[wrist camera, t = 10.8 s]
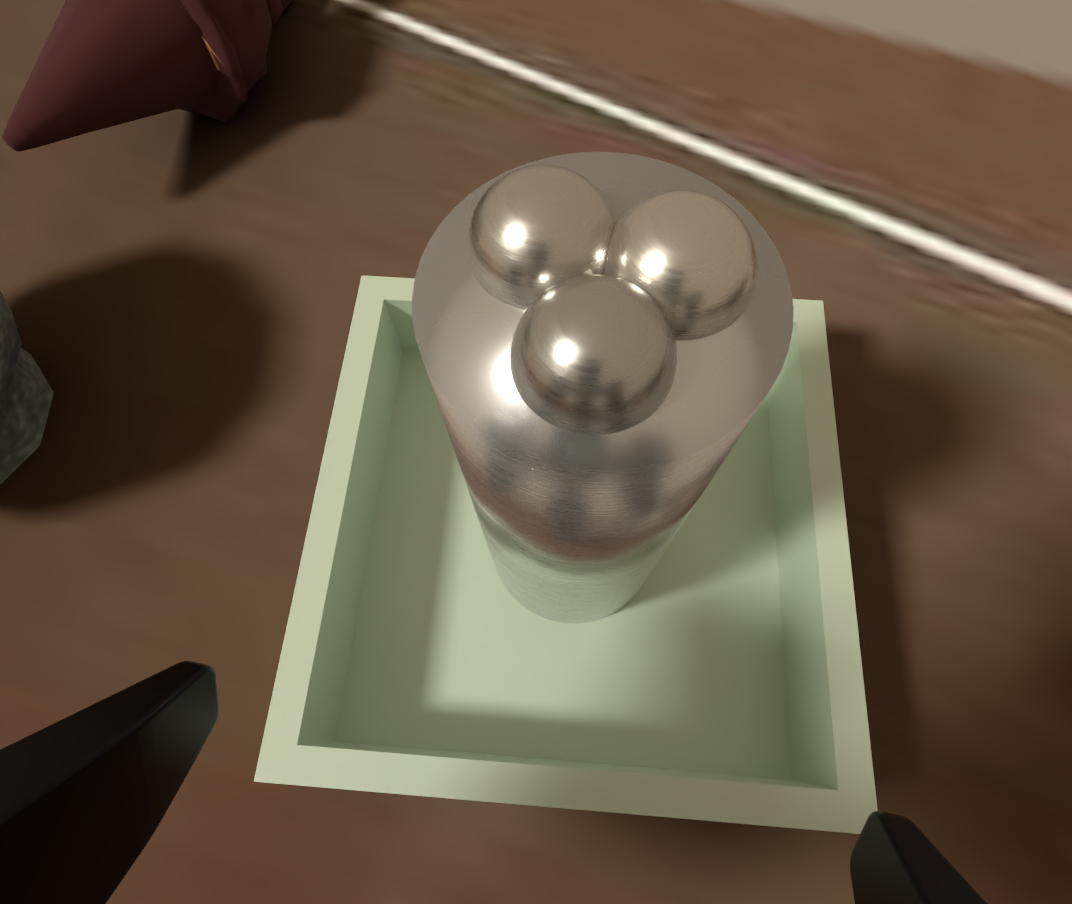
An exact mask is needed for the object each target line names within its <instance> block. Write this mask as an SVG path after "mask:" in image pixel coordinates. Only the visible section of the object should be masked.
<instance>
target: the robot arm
mask: <svg viewBox="0 0 1072 904" xmlns="http://www.w3.org/2000/svg"><path fill="white" fill-rule="evenodd" d="M217 716H218V698H217V685H216V674H215V671H214V669H213V668H212V667H211V666H209V665H205V664H200V663H196V662H191V661H183V662H180V663H177V664H175V665H173V666H171V667H169V668H167V669H165V670H163V671H161V672H159V673H157V674H155V675H153V676H151V677H149V678H147V679H145V680H142V681H140V682H138V683H136V684H134V685H132V686H130V687H128V688H126V689H124V690H122V691H120V692H118V693H116V694H114V695H112V696H110V697H108V698H106V699H103V700H101V701H99V702H97V703H95V704H93V705H91V706H89V707H87V708H85V709H83V710H81V711H79V712H77V713H75V714H73V715H71V716H69V717H67V718H64V719H62V720H60V721H58V722H56V723H54V724H52V725H50V726H48V727H46V728H44V729H42V730H40V731H38V732H36V733H34V734H32V735H30V736H28V737H25V738H23V739H21V740H19V741H17V742H15V743H13V744H11V745H9V746H7V747H5V748H3V749H1V750H0V904H106V902H107V901H108V900H109V898H110V897H111V895H112V894H113V892H114V891H115V889H116V888H117V886H118V885H119V884H120V882H121V881H122V879H123V878H124V876H125V875H126V873H127V872H128V871H129V869H130V868H131V866H132V865H133V863H134V862H135V860H136V859H137V858H138V856H139V855H140V853H141V852H142V850H143V849H144V847H145V846H146V844H147V843H148V841H149V840H150V838H151V837H152V835H153V833H154V832H155V830H156V828H157V827H158V825H159V823H160V822H161V820H162V818H163V817H164V815H165V813H166V811H167V810H168V808H169V806H170V804H171V802H172V801H173V799H174V797H175V795H176V794H177V792H178V790H179V788H180V786H181V785H182V783H183V781H184V779H185V777H186V776H187V774H188V772H189V770H190V769H191V767H192V765H193V763H194V761H195V760H196V758H197V756H198V754H199V753H200V751H201V749H202V747H203V745H204V744H205V742H206V740H207V738H208V737H209V735H210V733H211V731H212V729H213V727H214V725H215V723H216V720H217ZM850 872H851V879H852V886H853V893H854V899H855V904H987V903H986V902H985V901H984V900H983V899H982V898H981V897H980V896H979V894H978V893H977V892H976V891H975V890H974V889H973V888H972V887H971V886H970V885H969V883H968V882H967V881H966V880H965V879H964V878H963V877H962V876H961V875H960V874H959V873H958V871H957V870H956V869H955V868H954V867H953V866H952V865H951V864H950V863H949V862H948V860H947V859H946V858H945V857H944V856H943V855H942V854H941V853H940V852H939V851H938V849H937V848H936V847H935V846H934V845H933V844H932V843H931V842H930V841H929V840H928V839H927V837H926V836H925V835H924V834H923V833H922V832H921V831H920V830H919V829H918V828H917V826H916V825H915V824H914V823H913V822H912V821H910V820H909V819H908V818H906V817H904V816H900V815H895V814H891V813H886V812H881V811H874V812H872V813H871V814H870V815H869V817H868V818H867V821H866V823H865V825H864V827H863V829H862V831H861V833H860V836H859V838H858V840H857V842H856V844H855V846H854V848H853V851H852V854H851V859H850Z"/></svg>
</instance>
